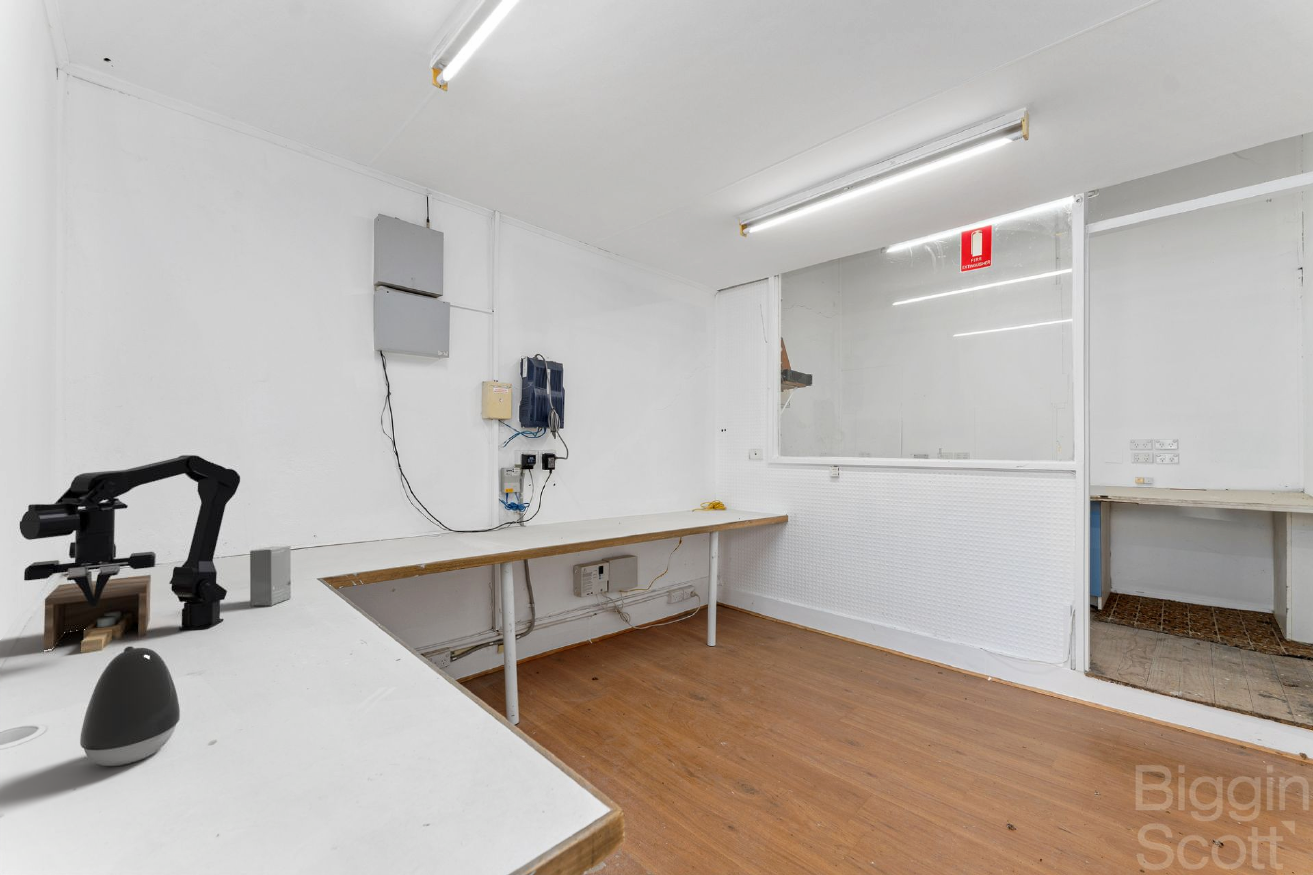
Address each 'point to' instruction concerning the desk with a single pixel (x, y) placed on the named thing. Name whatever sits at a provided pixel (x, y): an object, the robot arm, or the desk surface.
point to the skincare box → (270, 575)
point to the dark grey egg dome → (130, 709)
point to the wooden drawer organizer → (75, 613)
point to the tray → (106, 630)
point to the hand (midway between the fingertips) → (93, 606)
